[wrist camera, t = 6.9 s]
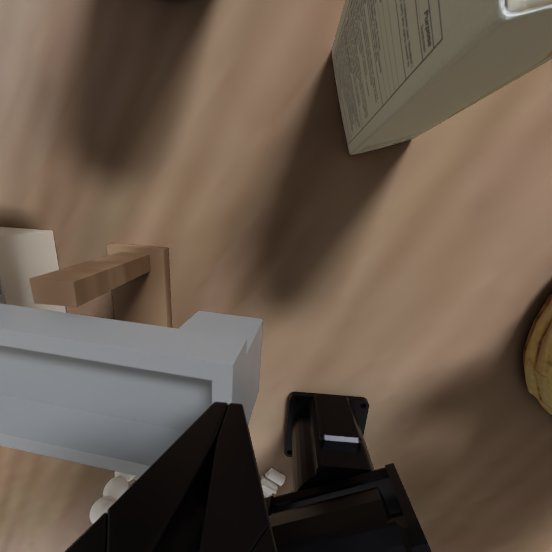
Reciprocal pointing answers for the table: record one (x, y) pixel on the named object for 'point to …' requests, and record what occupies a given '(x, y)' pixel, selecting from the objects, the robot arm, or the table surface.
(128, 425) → the tipping lever
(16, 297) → the white open tray
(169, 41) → the table surface
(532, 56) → the skincare box
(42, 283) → the pivot stand
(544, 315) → the tankard
